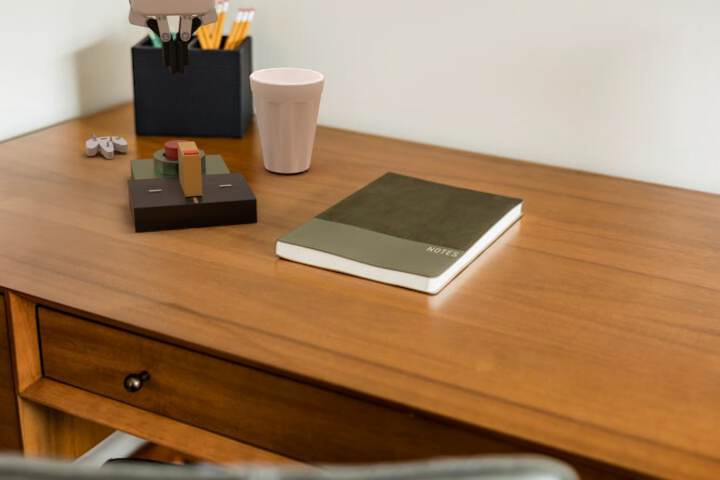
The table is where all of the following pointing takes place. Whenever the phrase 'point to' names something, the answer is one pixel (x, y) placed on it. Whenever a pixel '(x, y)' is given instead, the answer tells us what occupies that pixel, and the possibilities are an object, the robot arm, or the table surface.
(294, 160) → the cup
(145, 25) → the robot arm
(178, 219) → the panel
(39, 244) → the table surface
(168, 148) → the button
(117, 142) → the game controller
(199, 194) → the tan block
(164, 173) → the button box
